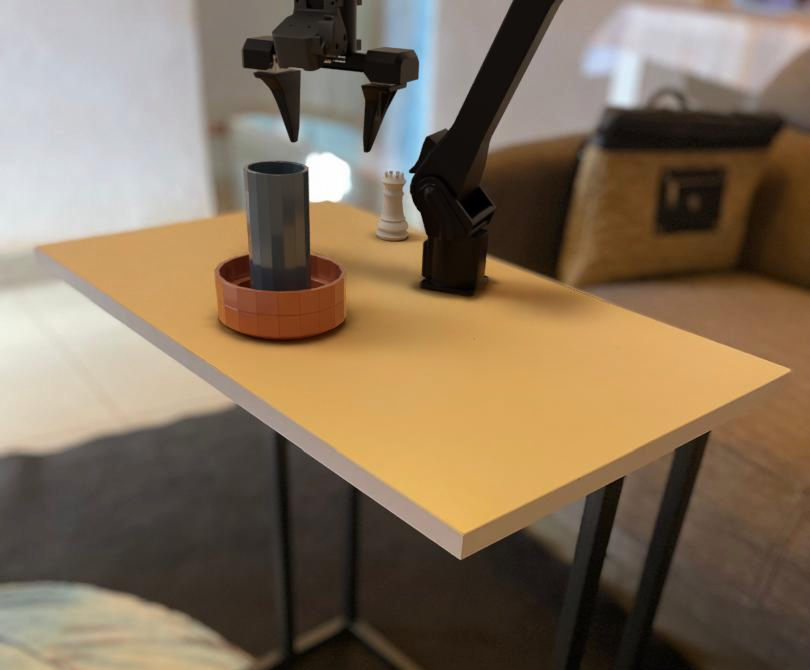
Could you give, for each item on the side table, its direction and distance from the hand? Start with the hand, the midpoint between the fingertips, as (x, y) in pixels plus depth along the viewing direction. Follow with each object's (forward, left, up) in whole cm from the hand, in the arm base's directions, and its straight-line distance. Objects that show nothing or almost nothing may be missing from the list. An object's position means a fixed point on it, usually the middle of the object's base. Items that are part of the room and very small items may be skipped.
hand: (330, 147), depth 94 cm
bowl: (-4, +19, -13) cm, 23 cm away
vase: (-4, +19, -12) cm, 23 cm away
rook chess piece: (-2, -14, -13) cm, 19 cm away
